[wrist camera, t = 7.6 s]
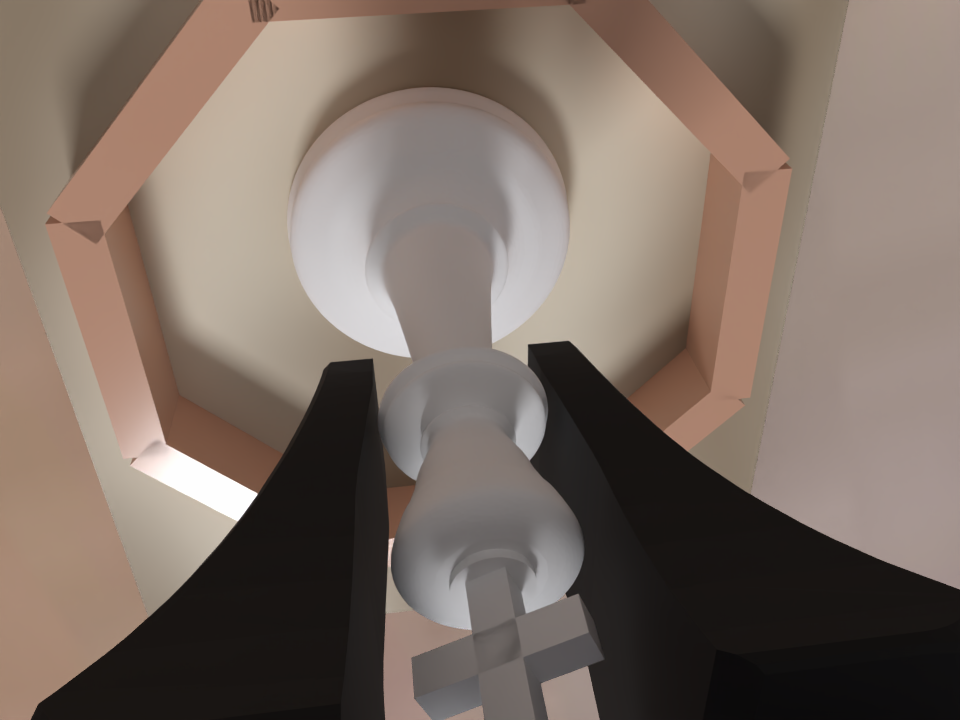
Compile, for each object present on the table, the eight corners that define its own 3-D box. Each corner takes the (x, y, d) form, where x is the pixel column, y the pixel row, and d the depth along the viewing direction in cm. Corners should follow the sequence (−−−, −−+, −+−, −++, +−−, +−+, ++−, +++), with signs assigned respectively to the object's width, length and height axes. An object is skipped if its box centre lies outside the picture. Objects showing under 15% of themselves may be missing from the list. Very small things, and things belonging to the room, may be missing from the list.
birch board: (882, -351, 13) (920, -359, 12) (720, 543, 23) (734, 573, 22) (-155, -328, 11) (-196, -335, 11) (163, 606, 22) (156, 639, 21)
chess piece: (602, 278, 17) (850, 782, 8) (369, 379, 17) (388, 940, 9) (504, 33, 14) (730, 429, 6) (231, 164, 15) (81, 689, 6)
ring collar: (792, -87, 13) (835, -72, 12) (702, 481, 20) (725, 529, 19) (-2, -48, 12) (-39, -28, 11) (179, 537, 19) (167, 591, 18)
